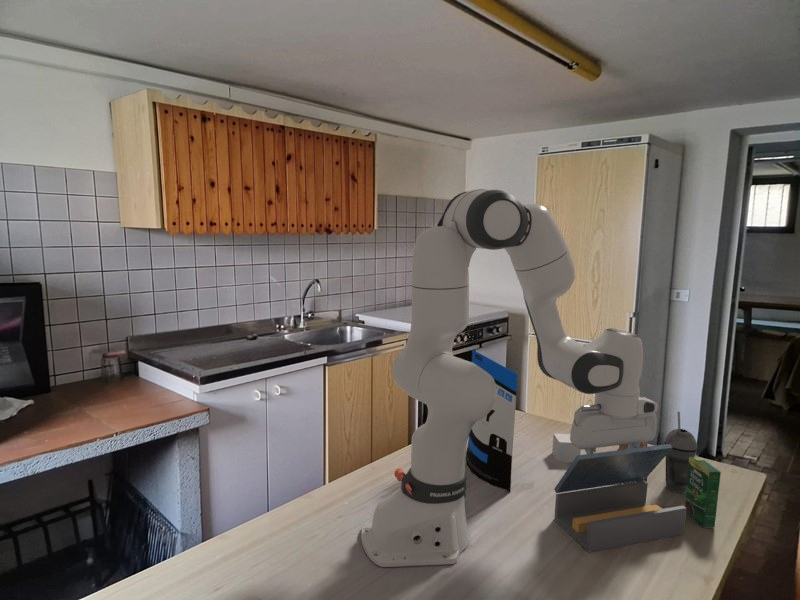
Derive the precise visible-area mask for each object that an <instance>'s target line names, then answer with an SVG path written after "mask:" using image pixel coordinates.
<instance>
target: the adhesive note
mask: <svg viewBox="0 0 800 600" xmlns="http://www.w3.org/2000/svg"><path fill="white" fill-rule="evenodd" d="M570 434H571V433H553V438H552V439H553V440H552V449H551V450H552V451H551V453H552V455H553V457H554V459H555V460H556V462H557V463H565V464H566V463H567V464H568V463H569V464H571V463H572V462H573V461H574V459H575V458H576V456H577V455H581V449H579V448H577V447H576V446H575V445H573V444H572V442H571V441H570Z"/></svg>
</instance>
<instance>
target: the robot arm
mask: <svg viewBox="0 0 800 600" xmlns="http://www.w3.org/2000/svg"><path fill="white" fill-rule="evenodd" d="M436 225H437V226H432V227H428V228H427V229H425V230H423V231H422V232H421V233H419V234H418V236H416V240H415V243H414V247H413V248H414V249H413V256H412V265H411V321H410V324H411V325H410V330H409V335H408V338H407V340H406V341H407V342H406V343H405V346H404V348H403V349H401V350H400V351H399V353H397V355H396V356H395V358H394V359H393V363H392V367H391V374H392V379H393V381H394V383H395V384H396V385H397V386H398V387H399V388H400V389H401V390H402V391H403V392H404V393H405V394H406V395H407V396H409V397H411V398H413V399H415V400H416V401H419V402H421V403H422V404H424V405H426V406H427V417H426V421H425V423H423V424H422V425H420V426H419V427H417V428H416V429H415V431H413V433H412V436H411V449H410V451H411V452H410V468H409V469H408V471H407V472H406V473H405V471H404V470H403V468H401V467H400V468H397V469H395V471H394V473H393V474H394V477H395V478H396V480H397V481H398V482H400V485H401V486H400V487H399V488H397V489H396V490H395V491H394V492H392V493H391V494H390V495H388V496H387V497H386V498H384V499H383V500H382V501H380V502H378V504H377V505H376V507H375V509H374V512H373V516H372V520H370V521H368V522H365V523H363V525H362V528H361V533H360V540H361V545H362V548H363V550H364V552H365V554H366V555H367V557H368V558H369V559H370V561H372V563H373V564H375V565H377V566H378V567H381V568H395V567H416V566H418V567H419V566H435V565H436V566H440V565H442V566H443V565H454V564H456V563H457V562H458V560H459V557H460V554H461V553H462V552H463V551H464V550H465V549H467V547H468V545H469V543H470V541H471V540H470V539H471V536H470V532H469V529H468V523H467V517H466V516H467V515H466V508H465V504H466V503H465V498H466V496H467V487H468V483H467V480H468V479H467V471H466V452H467V446H468V437H469V433H470V431H471V428H472V427H473V425H474V424H475V423H476V422H477V421H478V420H480V419H482V418H484V417H485V416H486V415H487V414H488V413H489V412H490V411H491V409H492V407H493V405H494V403H495V400H496V393H497V390H496V384H495V381H494V379H493V377H492V376H491V375H490V374H489V373H487V372H486V371H485V370H483V369H482V368H480V367H479V366H477V365H476V364H474V363H472V361H468V360H465V359H463V358H461V357H457V356H454V355H453V354H454V353H453V345H454V341H455V338H456V336H457V335H459V334H460V333H462V332H463V331H464V330H465V329H466V328H467V327H468V325H469V321H470V277H469V275H470V274H469V273H470V272H469V267H470V263H471V259H472V257H473V254H474V253H475V251H476V250H477V249H482V250H484V249H486V250H489V251H490V250H494V251H495V250H503V249H504V250H505V251H506V253H507V254H508V256H509V258H510V261H511V263H512V267H513V269H514V271H515V274H516V276H517V279H518V283H519V284H520V287H521V290H522V294H523V298H524V299H523V300H524V304H525V307H526V310H527V314H528V316H529V319H530V322H531V325H532V329H533V333H534V336H535V340H536V345H537V347H536V349H537V352H536V353H537V355H536V357H537V365H538V367H539V370H540V371H541V372H542V374H544V376H547V377H549V378H551V379H553V380H556V381H558V382H561V383H562V384H564V385H566V386H568V387H570V388H572V389H573V390H575V391H577V392H580V393H581V394H587V395H593V394H594V403H593V404H589V405H580V407H579V408H578V409H577V410H576V411H574V415H573V420H572V423H571V429H570V433H569V434H570V441H571V442H572V444H573V445H575V446H576V447H577V448H579V449H581V450H584V451H585V454H593V453H597V452H596V450H597V449H598V448H607V447H615V446H619V445H623V444H629V446H628V448H627V449H633V448H639V446H640V442H647V443H648V442H652V441H653V440H654V439H655V437H656V436H657V435H656V433H657V427H658V417H657V412H658V409H659V404H658V403H657V402H656V401H654V400H652V399H650V398H647V397H645V396H642V395H641V393H640V391H641V390H640V384H639V383H640V379H641V376H642V373H643V364H644V349H643V341H642V338H641V337H639V336H638V335H637V334H635V333H633V332H629V331H626V330H622V329H617V328H605V329H604V331H603V332H602V333H601V335H599V336H598V337H596V338H595V339H593V340H592V341H590V342H587V343H581V342H578V341H576V340H574V339H573V338H572V337H571V336H569V335H568V334H567V332H566V331H565V329H564V326H563V323H562V320H561V315H560V312H559V310H558V305H557V299H558V298H560V297H561V296H564V295H565V294H566V293H567V292H568V291H569V290H570V289H571V288H572V286H573V283H574V281H575V279H576V273H575V271H576V270H575V265H574V261H573V258H572V255H571V252H570V250H569V247H568V245H567V243H566V240H565V238H564V235H563V233H562V231H561V229H560V227H559V225H558V224H557V222H556V221H555V218H554V217H553V216H552V214H551V213H550V210H549V209H548V208H547V207H545V206H543V205H541V204H537V203H531V204H530V203H529V204H523V203H521V202H520V200H519V199H517V198H516V197H515V195H512V194H510V193H509V192H506V191H503V190H500V189H487V188H486V189H484V188H479V189H473V190H468V191H463V192H461V193H458V194H457V195H455V196H454V197H453V198H452V199H451V200H450V201H449V202H448V203H447V205H446V207H445V209H444V211H443V213H442V215H441V217H440V219H439V220H438V223H437V224H436Z"/></svg>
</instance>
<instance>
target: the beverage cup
mask: <svg viewBox="0 0 800 600" xmlns="http://www.w3.org/2000/svg"><path fill="white" fill-rule="evenodd" d="M663 443H664V444H670V445H671V446H672V447H673V448H672V449H671V450H670V451H669V453H668V454H667V455H666V456H665V488H666V489H667V490H668V491H669V492H673V493H676V494H686V486H687V475H688V464H689V457H696V454H697V450H698V444H697V440H696V437H695V436H694V435H693V433H691V432H690V431H688V430H687V429H683V428H681V412H680V411H677V428H676V429H675V428H674V429H672V430H670V431H669V432H668V433H667V435H666V437H665V439H664V441H663ZM664 444H663V445H664Z"/></svg>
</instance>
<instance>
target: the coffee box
mask: <svg viewBox="0 0 800 600" xmlns="http://www.w3.org/2000/svg"><path fill="white" fill-rule="evenodd" d="M721 475H722V474H721V471H720V470H718V468H715V467H714V466H713V465H712V464H710V463H709V462H707V461H706V460H705V459H703V458H702V457H700V456H695V457H689V464H688V475H687V486H686V492H685V497H684V498H685V499H684V507H686V508H687V510H686V513H688V514H689V515H690V516H691V517H692V518H693V519H694V520H695V521H696V522H697V523H698V524H699V525H700V526H701V527H702V528H705V529H714V528H715V526H716V525H715V524H716V520H717V519H716V518H717V511H718V510H717V508H718V501H719V500H718V499H719V491H720V481H721Z"/></svg>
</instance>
